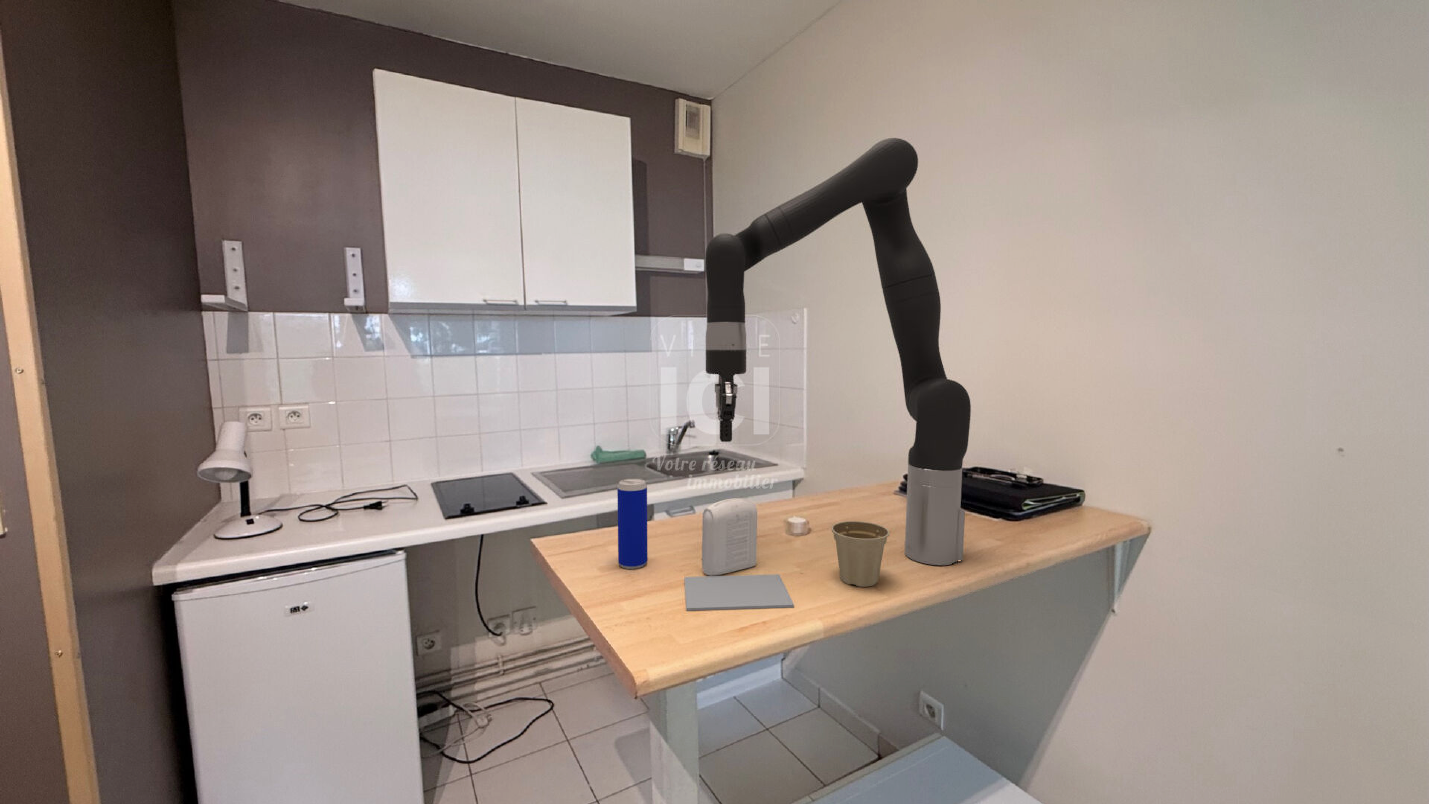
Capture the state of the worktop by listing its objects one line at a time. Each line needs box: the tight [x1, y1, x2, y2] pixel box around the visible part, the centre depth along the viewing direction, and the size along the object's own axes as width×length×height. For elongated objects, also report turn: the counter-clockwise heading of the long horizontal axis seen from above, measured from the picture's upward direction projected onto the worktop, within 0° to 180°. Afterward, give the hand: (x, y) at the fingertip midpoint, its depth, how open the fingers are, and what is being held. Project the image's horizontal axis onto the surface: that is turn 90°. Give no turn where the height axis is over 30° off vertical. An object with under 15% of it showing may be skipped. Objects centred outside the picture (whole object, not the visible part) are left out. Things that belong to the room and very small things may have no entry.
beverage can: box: [616, 478, 649, 570], centre depth 95 cm, size 5×5×15 cm
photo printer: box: [701, 497, 758, 576], centre depth 94 cm, size 10×4×12 cm, turn 123°
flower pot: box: [830, 520, 891, 588], centre depth 90 cm, size 9×9×9 cm
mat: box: [684, 573, 795, 612], centre depth 85 cm, size 16×11×1 cm
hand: (725, 441), depth 101 cm, fingers closed
